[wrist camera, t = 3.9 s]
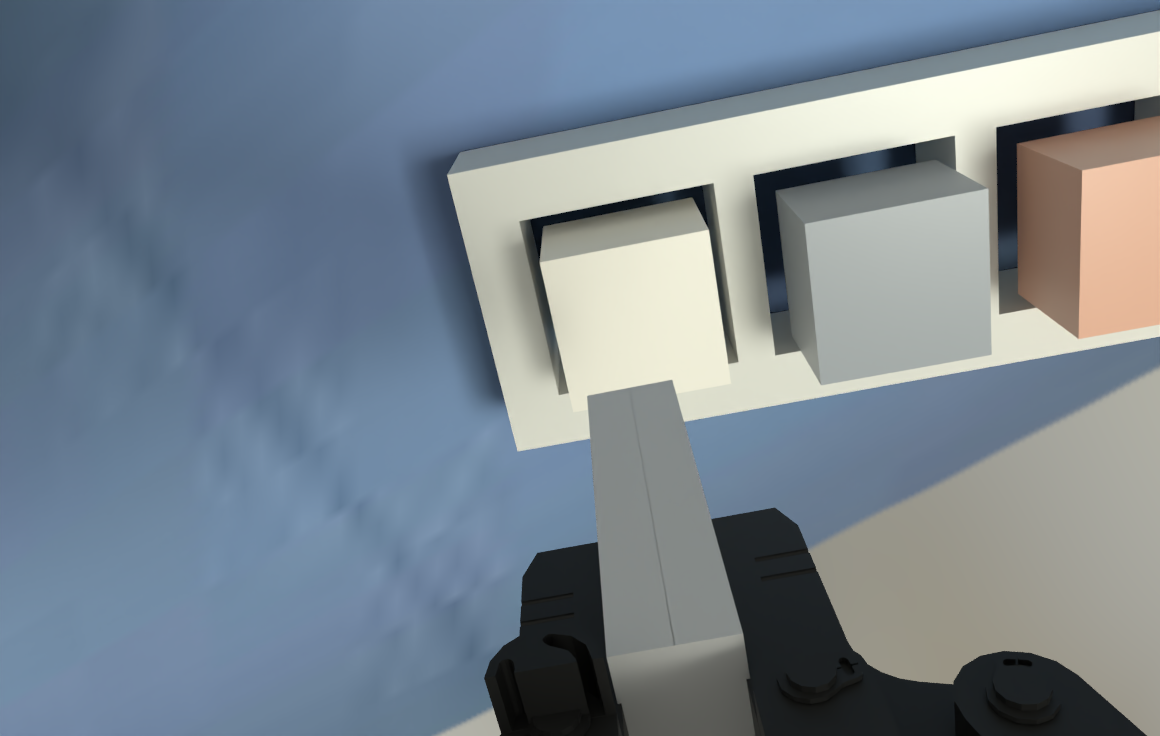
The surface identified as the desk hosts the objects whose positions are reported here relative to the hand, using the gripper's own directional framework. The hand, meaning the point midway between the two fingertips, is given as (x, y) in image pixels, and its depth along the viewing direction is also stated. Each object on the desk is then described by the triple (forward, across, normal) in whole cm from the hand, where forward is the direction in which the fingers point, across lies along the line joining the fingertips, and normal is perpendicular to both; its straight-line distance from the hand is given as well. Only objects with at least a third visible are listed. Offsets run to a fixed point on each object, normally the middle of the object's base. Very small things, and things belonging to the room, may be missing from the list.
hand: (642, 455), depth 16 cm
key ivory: (+10, 0, 0) cm, 10 cm away
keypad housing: (+12, +6, 0) cm, 13 cm away
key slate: (+9, +6, 0) cm, 11 cm away
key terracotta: (+9, +12, 0) cm, 15 cm away
